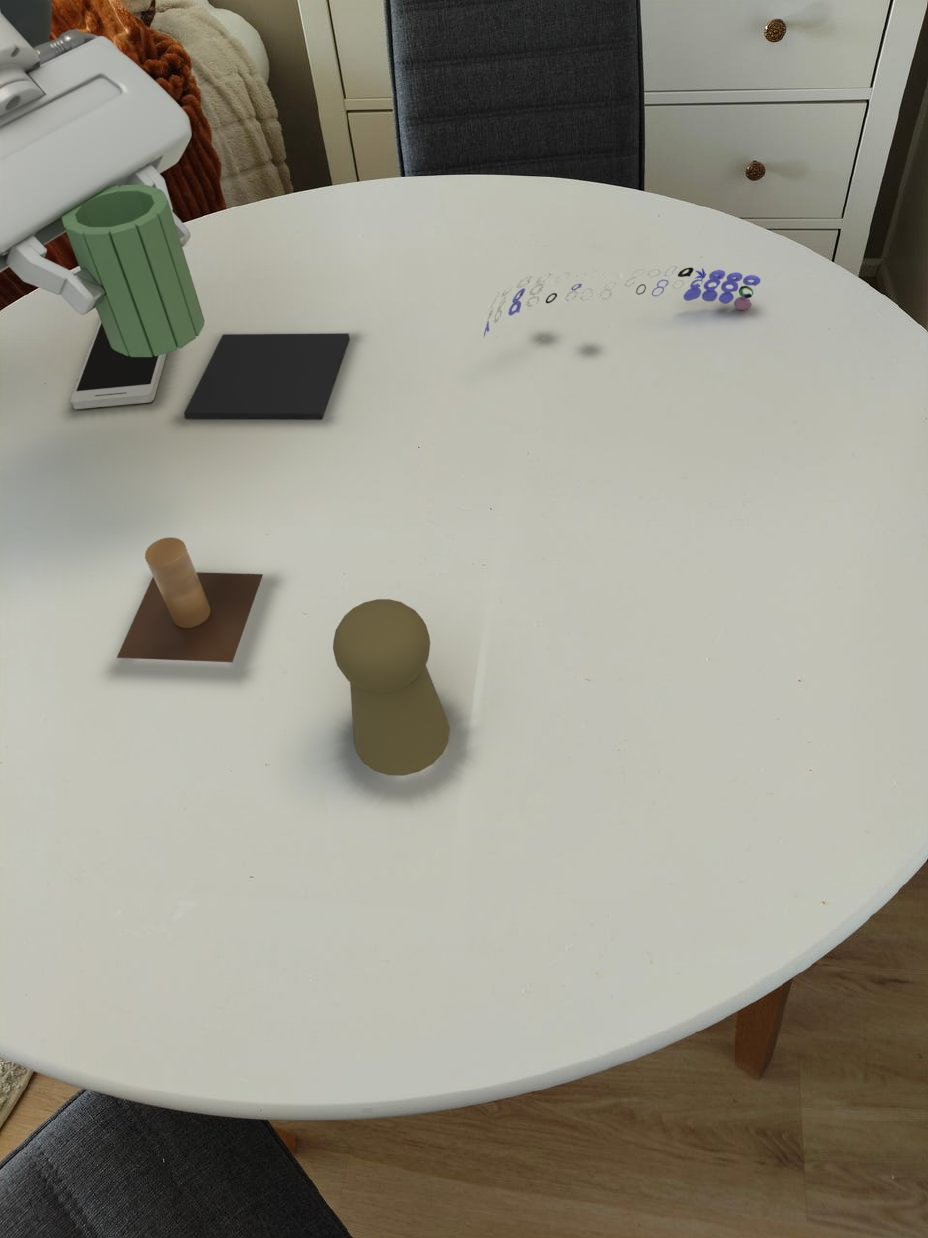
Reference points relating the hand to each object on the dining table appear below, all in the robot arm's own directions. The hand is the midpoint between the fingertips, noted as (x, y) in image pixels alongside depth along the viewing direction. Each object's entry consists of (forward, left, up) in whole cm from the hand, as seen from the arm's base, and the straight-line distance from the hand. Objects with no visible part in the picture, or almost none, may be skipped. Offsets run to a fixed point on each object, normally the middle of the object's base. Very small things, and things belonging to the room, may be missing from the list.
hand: (138, 275), depth 60 cm
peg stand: (+1, -10, -20) cm, 23 cm away
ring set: (+29, +25, -20) cm, 43 cm away
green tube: (0, 0, -4) cm, 4 cm away
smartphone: (-15, +22, -20) cm, 34 cm away
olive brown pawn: (+17, -19, -20) cm, 33 cm away
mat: (-1, +19, -20) cm, 28 cm away
